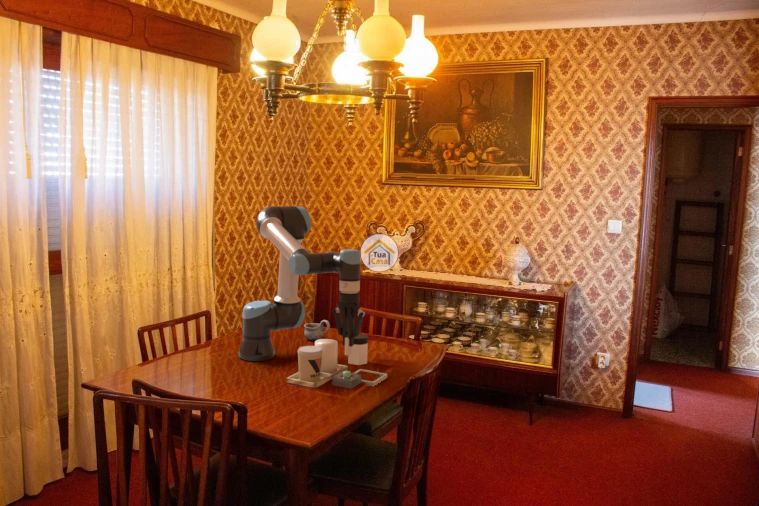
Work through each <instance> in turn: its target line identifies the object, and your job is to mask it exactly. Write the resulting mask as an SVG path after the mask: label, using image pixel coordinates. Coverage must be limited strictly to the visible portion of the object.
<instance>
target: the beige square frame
mask: <svg viewBox="0 0 759 506" xmlns="http://www.w3.org/2000/svg"><path fill="white" fill-rule="evenodd" d="M361 372H365V373H369V374H373V375H374V374H375V375H377V377H378V378H377V379H375V380H373V381H371V380H365V379H361V383H364V385H365V386H369V387H375V385H376V386H378V385H379V384H380V383H381V381H382V382H383V381H384V380H386V379H387V378H388V373H384V372H379V371H373V370H370V369H369V370H368V369H364V368H363V369H362V368H360V369H358V370H356V371H354V372H353V373H354V374H359V373H361ZM378 383H379V384H378Z"/></svg>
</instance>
